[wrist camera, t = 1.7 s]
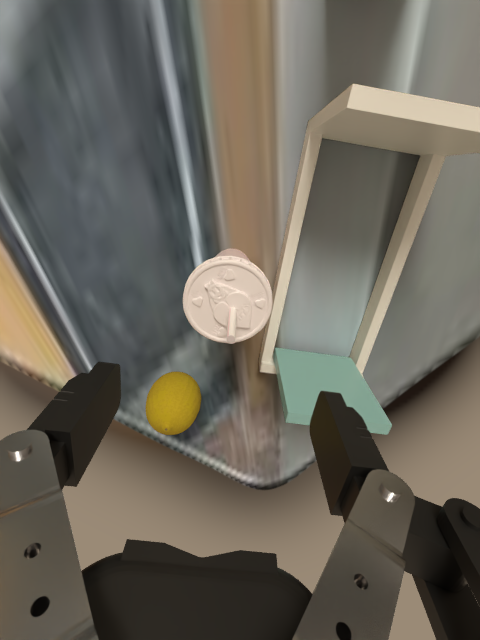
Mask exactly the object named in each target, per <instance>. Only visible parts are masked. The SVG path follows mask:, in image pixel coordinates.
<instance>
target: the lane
mask: <svg viewBox="0 0 480 640" xmlns="http://www.w3.org/2000/svg"><path fill="white" fill-rule="evenodd" d="M322 138H324V139H330V140H335V141H341V142H347V143H352V144H358V145H363V146H369V147H375V148H380V149H386V150H392V151H397V152H403V153H409V154H414V155H420V158H419V161H418V164H417V167H416V169H415V172H414V175H413V178H412V181H411V184H410V186H409V189H408V192H407V195H406V198H405V201H404V203H403V206H402V209H401V212H400V215H399V218H398V220H397V223H396V226H395V229H394V232H393V235H392V237H391V240H390V243H389V246H388V249H387V252H386V255H385V257H384V260H383V263H382V266H381V269H380V272H379V274H378V277H377V280H376V283H375V286H374V289H373V291H372V294H371V297H370V300H369V303H368V306H367V308H366V311H365V314H364V317H363V320H362V323H361V325H360V328H359V331H358V334H357V337H356V340H355V342H354V345H353V348H352V351H351V354H350V357H349V358H351V359H352V360H353V362H354V363H355V365H356V367H357V368H358V370H359V372H360V373H361V375H362V373H363V371H364V368H365V365H366V363H367V360H368V358H369V355H370V352H371V350H372V347H373V345H374V342H375V339H376V337H377V334H378V332H379V329H380V326H381V324H382V321H383V319H384V316H385V313H386V311H387V308H388V306H389V303H390V300H391V298H392V295H393V293H394V290H395V287H396V285H397V282H398V279H399V277H400V274H401V272H402V269H403V266H404V264H405V261H406V259H407V256H408V253H409V251H410V248H411V246H412V243H413V240H414V238H415V235H416V233H417V230H418V227H419V225H420V222H421V220H422V217H423V214H424V212H425V209H426V207H427V204H428V201H429V199H430V196H431V193H432V191H433V188H434V186H435V183H436V180H437V178H438V175H439V173H440V170H441V167H442V165H443V162H444V160H445V157H446V156H451V155H461V154H471V153H480V108H479V107H474V106H469V105H463V104H458V103H453V102H448V101H442V100H437V99H432V98H426V97H421V96H416V95H411V94H405V93H400V92H395V91H389V90H384V89H379V88H374V87H368V86H363V85H358V84H352V85H351V86H349V87H348V88H347V89H346V90H345V91H343V92H342V93H341V94H340V95H339V96H337V97H336V98H335V99H334V100H333V101H332V102H330V103H329V104H328V105H327V106H326V107H324V108H323V109H322V110H321V111H320V112H318V113H317V114H316V115H315V116H314V117H312V118H311V119H310V120H309V121H308V124H307V129H306V134H305V139H304V144H303V149H302V153H301V158H300V163H299V168H298V173H297V178H296V182H295V187H294V192H293V197H292V202H291V206H290V211H289V216H288V221H287V226H286V231H285V235H284V240H283V245H282V250H281V255H280V259H279V264H278V269H277V274H276V279H275V284H274V288H273V293H272V311H271V314H270V317H269V319H268V321H267V323H266V327H265V332H264V337H263V341H262V346H261V351H260V356H259V372H262V373H270V374H276V368H275V363H274V357H273V354H274V353H273V351H274V346H275V342H276V337H277V333H278V329H279V324H280V320H281V316H282V311H283V307H284V302H285V298H286V294H287V289H288V285H289V280H290V276H291V272H292V267H293V263H294V259H295V254H296V250H297V245H298V241H299V237H300V232H301V228H302V223H303V219H304V215H305V210H306V206H307V202H308V197H309V193H310V188H311V184H312V180H313V175H314V171H315V166H316V162H317V158H318V153H319V149H320V145H321V140H322ZM362 377H363V375H362ZM363 378H364V377H363Z"/></svg>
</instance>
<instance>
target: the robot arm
mask: <svg viewBox="0 0 480 640" xmlns="http://www.w3.org/2000/svg"><path fill="white" fill-rule="evenodd" d="M120 399H121V380H120V365H119V364H113V363H106V362H98V363H97V364H96V365H95V366H94V367H93V369H92V370H91V371H90V372H89V374H87V373H81V374H79V375H77V376H76V377H74V378H72V379H71V380H69V381H68V382H67V383H66V385H65V386H64V387H63V388H62V389H61V392H59V393H58V394H57V395H56V396H55V397H54V400H52V401H51V402H50V403H49V404H48V406H47V407H46V408H45V409H44V410H43V411H42V413H41V414H40V415H39V416H38V417H37V419H36V420H35V421H34V422H33V423H32V424H31V425H30V427H29V428H28V429H27V430H24V431H19V432H16V433H13V434H11V435H9V436H7V437H5V438H4V439H2V440H1V441H0V640H388V638H389V634H390V630H391V625H392V621H393V616H394V612H395V608H396V604H397V599H398V595H399V591H400V587H401V582H402V578H403V574H404V571H406V572H408V573H410V574H412V576H413V578H414V581H415V584H416V586H417V589H418V592H419V594H420V597H421V600H422V602H423V605H424V608H425V610H426V613H427V616H428V618H429V621H430V624H431V626H432V629H433V632H434V634H435V637H436V640H480V607H479V606H480V509H479V508H478V507H476V506H475V505H473V504H471V503H469V502H467V501H465V500H462V499H457V498H452V499H449V500H447V501H446V502H445V504H444V505H443V507H441V506H439V505H436V504H434V503H431V502H428V501H426V500H423V499H421V498H418V497H416V496H414V495H413V492H412V490H411V489H410V487H409V486H408V485H407V484H406V483H405V482H404V481H403V480H402V479H401V478H399V477H398V476H397V475H395V474H393V473H391V472H389V470H388V468H387V466H386V464H385V462H384V460H383V458H382V457H381V454H380V452H379V450H378V448H377V446H376V444H375V442H374V440H373V439H372V436H371V434H370V432H369V430H367V426H366V424H365V422H364V420H363V418H362V416H361V415H360V414H359V413H358V412H357V411H356V410H355V409H354V408H353V407H347V405H346V403H345V401H344V399H343V397H342V395H341V393H337V392H329V391H320V393H319V395H318V398H317V401H316V404H315V408H314V411H313V414H312V417H311V420H310V436H311V440H312V444H313V448H314V452H315V456H316V459H317V463H318V467H319V471H320V475H321V479H322V482H323V486H324V490H325V494H326V498H327V502H328V505H329V510H330V513H331V515H338V516H343V519H344V522H345V525H344V527H343V529H342V531H341V533H340V535H339V538H338V540H337V542H336V544H335V546H334V548H333V550H332V553H331V555H330V557H329V559H328V561H327V563H326V566H325V568H324V570H323V572H322V574H321V576H320V578H319V581H318V583H317V585H316V587H315V589H314V591H313V594H312V593H311V592H310V591H309V590H308V589H307V588H306V587H305V586H304V585H303V584H302V583H301V582H300V581H299V580H297V579H296V578H295V577H293V576H292V575H291V574H289V573H287V572H286V571H284V570H282V569H280V568H277V558H276V554H273V553H262V552H252V551H242V550H240V551H234V552H230V553H225V554H219V555H215V556H209V557H204V558H201V557H197V556H195V555H192V554H190V553H188V552H185V551H183V550H180V549H178V548H175V547H173V546H171V545H168V544H166V543H159V542H149V541H139V540H129V539H127V541H126V544H125V547H124V550H123V553H118V554H115V555H111V556H108V557H105V558H103V559H101V560H99V561H97V562H95V563H93V564H92V565H90V566H88V567H87V568H85V569H84V570H82V571H81V569H80V564H79V560H78V555H77V551H76V547H75V543H74V539H73V534H72V530H71V526H70V522H69V518H68V514H67V509H66V505H65V501H64V496H63V493H62V489H63V487H64V485H65V486H75V487H76V486H77V484H78V483H79V481H80V479H81V477H82V475H83V474H84V472H85V470H86V468H87V466H88V465H89V463H90V461H91V459H92V457H93V455H94V453H95V452H96V450H97V448H98V446H99V444H100V442H101V440H102V438H103V437H104V435H105V433H106V431H107V429H108V427H109V426H110V424H111V422H112V420H113V418H114V416H115V414H116V413H117V410H118V408H119V404H120ZM475 598H476V599H475ZM476 600H477V601H476ZM477 602H478V603H477ZM478 604H479V605H478Z"/></svg>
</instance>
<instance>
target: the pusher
mask: <svg viewBox="0 0 480 640" xmlns="http://www.w3.org/2000/svg"><path fill="white" fill-rule="evenodd" d="M273 357H274V363H275V368H276V374H277V379H278V385H279V390H280V396H281V401H282V407H283V412H284V418H285V422H286V423H294V424H303V425H310V420H311V417H312V414H313V411H314V408H315V404H316V401H317V398H318V395H319V393H320V391H329V392H337V393H341V395H342V397H343V399H344V401H345V403H346V405H347V407H353V408H354V409H355V410H356V411H357V412H358V413H359V414H360V415H361V416H362V418H363V420H364V422H365V424H366V426H367V430H369V432H370V433H379V434H388V433H389V431H390V429H391V427H392V424H391V423H390V421H389V419H388V418H387V416H386V414H385V413H384V411H383V409H382V408H381V406H380V404H379V403H378V401H377V400H376V398H375V396H374V395H373V393H372V391H371V390H370V388H369V386H368V385H367V383H366V382H365V380H364V378H363V377H362V375H361V373H360V372H359V370H358V368H357V367H356V365H355V363H354V362H353V360H352V359H351V358H349V357H342V356H334V355H327V354H319V353H312V352H304V351H297V350H289V349H282V348H275V350H274V354H273Z"/></svg>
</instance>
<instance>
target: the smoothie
mask: <svg viewBox="0 0 480 640" xmlns="http://www.w3.org/2000/svg"><path fill="white" fill-rule="evenodd" d="M183 307H184V312H185V315H186V317H187V319H188V321H189V322H190V324H191V325H192V327H193V328H194V329H195V330H196V331H197V332H199V333H200V334H201V335H203V336H204V337H206V338H208V339H210V340H213V341H216V342H221V343H230V344H232V343H235V342H240V341H244V340H246V339H249V338H251V337H252V336H254V335H255V334H257V333H258V332H259V331H260V330H261V329H262V328H263V327H264V326H265V324H266V323H267V321H268V319H269V317H270V314H271V311H272V291H271V287H270V284H269V281H268V279H267V278H266V276H265V275H264V273H263V272H262V271H261V270H260V269H259V268H258V267H257V266H256V265H255V264H253V263H251V262H250V260H249V259H248V257H247V256H246V255H245V254H244V253H243V252H241V251H240V250H237V249H226V250H223V251H221V252H220V253H219V254H218V255H217V256H215V257H214V258H212V259H209V260H207V261H205V262H204V263H202V264H200V265H199V266H197V268H196V269H195V270H194V271H193V272H192V273H191V275H190V276H189V278H188V280H187V283H186V285H185V290H184V294H183Z"/></svg>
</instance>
